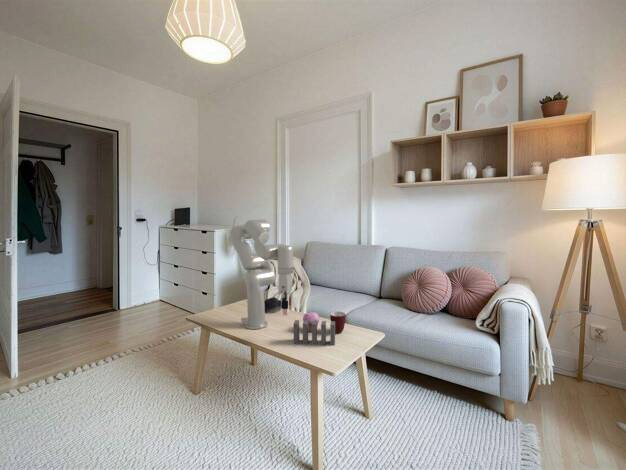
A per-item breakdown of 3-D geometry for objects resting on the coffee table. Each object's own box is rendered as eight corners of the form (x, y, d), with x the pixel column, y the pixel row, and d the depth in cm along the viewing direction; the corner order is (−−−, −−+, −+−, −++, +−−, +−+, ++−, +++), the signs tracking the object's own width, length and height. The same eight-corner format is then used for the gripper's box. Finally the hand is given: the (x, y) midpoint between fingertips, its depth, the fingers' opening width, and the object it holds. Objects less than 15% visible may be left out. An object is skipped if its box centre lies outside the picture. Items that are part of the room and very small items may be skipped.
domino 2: (302, 343, 149) (302, 323, 148) (304, 339, 154) (304, 320, 153) (306, 344, 149) (306, 324, 148) (308, 339, 154) (308, 320, 153)
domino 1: (293, 343, 150) (293, 323, 149) (295, 339, 155) (295, 320, 154) (297, 343, 149) (297, 323, 149) (299, 339, 154) (299, 320, 154)
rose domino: (283, 315, 149) (282, 294, 148) (285, 311, 154) (285, 292, 153) (287, 315, 149) (286, 294, 148) (289, 311, 154) (288, 292, 153)
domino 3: (311, 344, 149) (311, 324, 148) (313, 340, 154) (313, 320, 153) (316, 344, 148) (315, 324, 148) (317, 340, 153) (317, 320, 153)
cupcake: (300, 329, 167) (299, 311, 166) (312, 326, 172) (312, 308, 172) (309, 334, 160) (309, 316, 159) (322, 330, 165) (322, 312, 165)
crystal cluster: (260, 309, 206) (258, 295, 204) (280, 305, 209) (278, 292, 208) (262, 317, 193) (260, 302, 191) (283, 313, 197) (281, 298, 195)
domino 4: (321, 344, 148) (321, 324, 147) (322, 340, 153) (322, 320, 152) (325, 344, 148) (325, 324, 147) (326, 340, 153) (326, 321, 152)
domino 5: (330, 345, 148) (330, 324, 147) (331, 340, 152) (331, 321, 152) (334, 345, 147) (334, 325, 147) (335, 341, 152) (335, 321, 151)
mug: (336, 326, 171) (336, 309, 170) (350, 329, 167) (350, 311, 166) (327, 333, 162) (327, 314, 161) (341, 336, 158) (341, 317, 157)
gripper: (281, 267, 159) (282, 302, 160) (273, 273, 142) (274, 312, 143) (296, 267, 158) (296, 302, 159) (289, 274, 141) (290, 312, 142)
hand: (286, 306), depth 151 cm, fingers closed on rose domino, 4 cm apart
